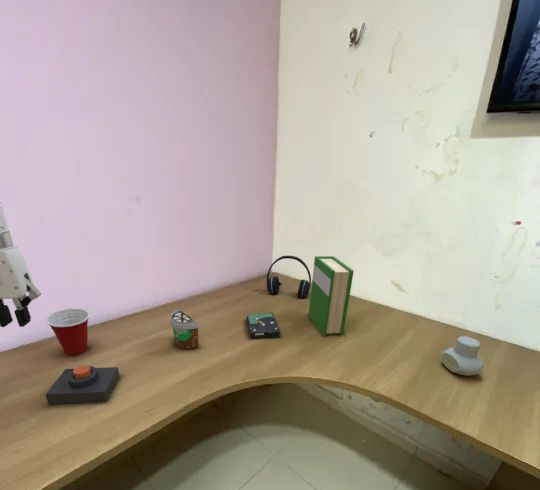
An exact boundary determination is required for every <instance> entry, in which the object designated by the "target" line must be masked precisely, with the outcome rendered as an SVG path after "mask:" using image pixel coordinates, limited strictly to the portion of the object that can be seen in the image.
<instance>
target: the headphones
mask: <svg viewBox="0 0 540 490" xmlns="http://www.w3.org/2000/svg"><path fill="white" fill-rule="evenodd" d="M285 259H290V260H295V261H296V262H299V263H300V264H301V265H302V266H303V267H304V268H305V270H306V272H307V274H308V280H307V279H300V282H299V285H298V290H297V297H299V298H305V297H306V296H307V297H308V296H309V294H310V291H311V286H312V276H311V272H310V270H309V267H308V265H307V264H306V262H305V261H303V259H302V258H300V257H299V256H296V255H282V256H280V257H277V258H276V259H275V260H274V261H273V262H272V263H271V265H270V266H269V268H268V271H267V274H266V290H267V292H269V293H270V294H272V295H273V294H278V293H279V291H280V279H279V277H278V276H276V275H275V276H274V275H271V276H270V272H271V270H272V268H273V267H274V265H275V264H276V263H278V262H279V261H281V260H285Z"/></svg>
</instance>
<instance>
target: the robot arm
mask: <svg viewBox="0 0 540 490" xmlns="http://www.w3.org/2000/svg"><path fill="white" fill-rule="evenodd" d="M27 293H28V295H27ZM41 295H42V292H41V291H40V290H39V289H38V288H37V287H36V286H35V285H34V281H33V277H32V274H31V272H30V269H29V267H28V265H27V262H26V260H25V258H24V256H23V254H22V252H21V251H20V249H19V248H18V246H15V245H14V242H13V239H12V236H11V232H10V229H9V225H8V221H7V220H6V216H5V213H4V209H3V206H2V204H1V202H0V327H1V328H5V327H7V326H8V325H9V324H11V323H12V322H13V321H14V319H13V317H12V314H11V311H10V307H9V306H8V304H5V301H4V300H10V299H11V300H12V303H13V305H14V306H15V310H13V311H14V315H15V318H16V321H17V324H18V326H19V327H22V328H23V327H25V326H26V325H28V324H29V323H30V322H31V321H32V316H31V313H30V310H29V307H28V306H30V303H32V301H34V300H35V299H38V298H39V297H40V296H41Z"/></svg>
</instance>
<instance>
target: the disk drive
mask: <svg viewBox="0 0 540 490" xmlns="http://www.w3.org/2000/svg"><path fill="white" fill-rule="evenodd" d="M246 323H247V326H248V331H249V336H250V338H251V339H265V338H267V339H268V338H269V339H270V338H280V337H281V328H280V326H279V324H278V322H277V320H276V317H275V315H274V312H259V313H247V315H246Z"/></svg>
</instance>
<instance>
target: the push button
mask: <svg viewBox="0 0 540 490" xmlns="http://www.w3.org/2000/svg"><path fill="white" fill-rule="evenodd" d="M89 366H90V365H87V364H83V365H79V366H76V367H74V368H73V369H74V370H73V374H74V377H75V379H83V378H86V377H88V376H90V375H91V370H90V367H89Z"/></svg>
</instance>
